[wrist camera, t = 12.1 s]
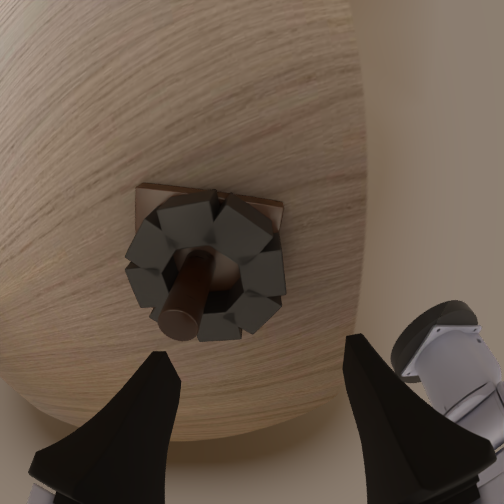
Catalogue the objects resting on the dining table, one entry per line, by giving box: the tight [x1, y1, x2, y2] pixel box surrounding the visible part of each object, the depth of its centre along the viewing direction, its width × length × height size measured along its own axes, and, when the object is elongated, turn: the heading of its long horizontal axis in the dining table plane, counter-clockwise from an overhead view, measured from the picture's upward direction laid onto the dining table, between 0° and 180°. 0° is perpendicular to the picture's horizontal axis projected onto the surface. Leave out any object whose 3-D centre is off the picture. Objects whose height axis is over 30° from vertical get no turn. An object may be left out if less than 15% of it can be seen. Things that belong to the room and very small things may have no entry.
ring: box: [125, 189, 286, 342], centre depth 16 cm, size 9×9×2 cm
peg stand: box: [135, 183, 284, 341], centre depth 15 cm, size 9×9×7 cm
